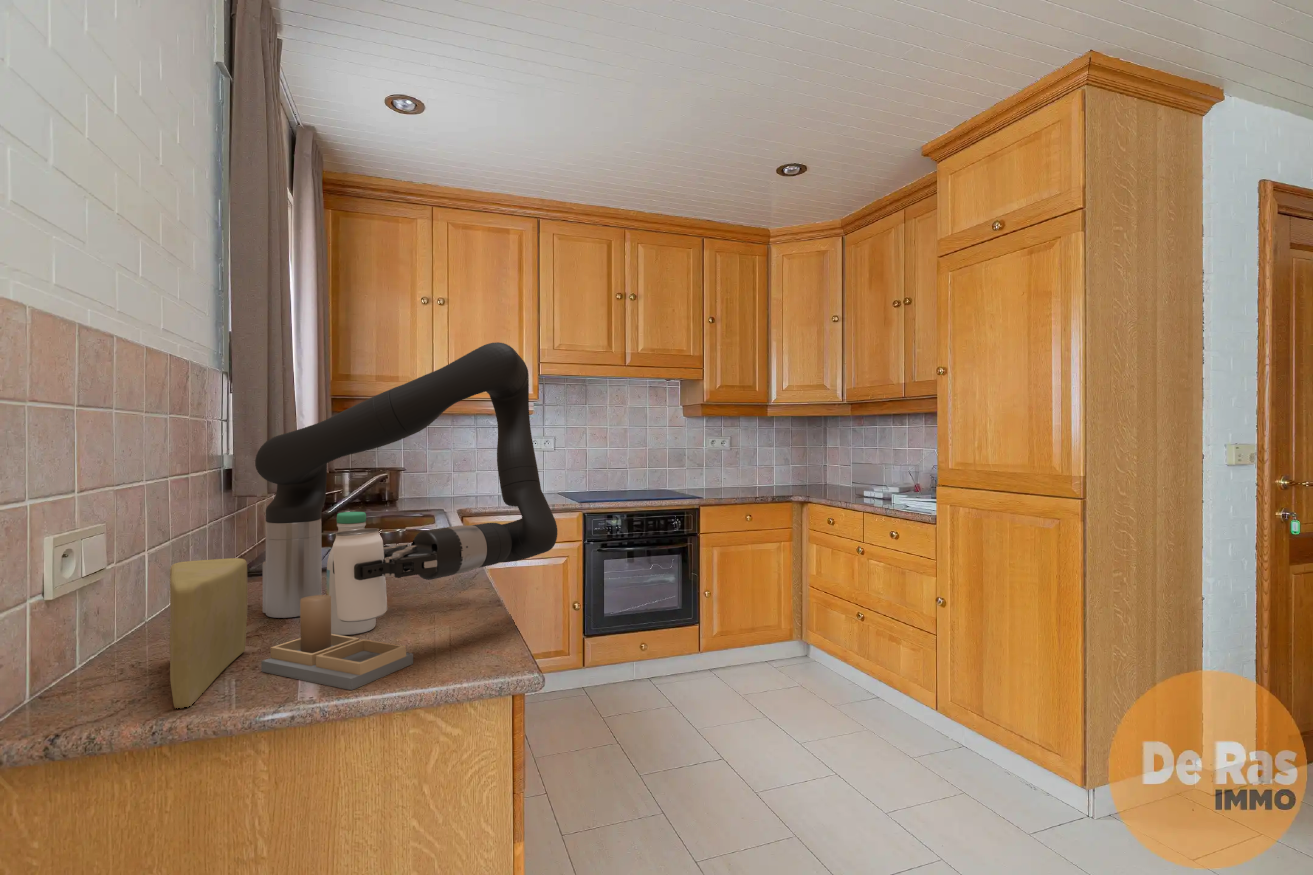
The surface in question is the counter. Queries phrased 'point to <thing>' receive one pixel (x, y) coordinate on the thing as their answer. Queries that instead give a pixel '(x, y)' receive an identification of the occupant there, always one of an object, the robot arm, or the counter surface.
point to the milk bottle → (337, 626)
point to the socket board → (332, 652)
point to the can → (358, 595)
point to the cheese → (205, 623)
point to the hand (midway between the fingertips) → (345, 569)
